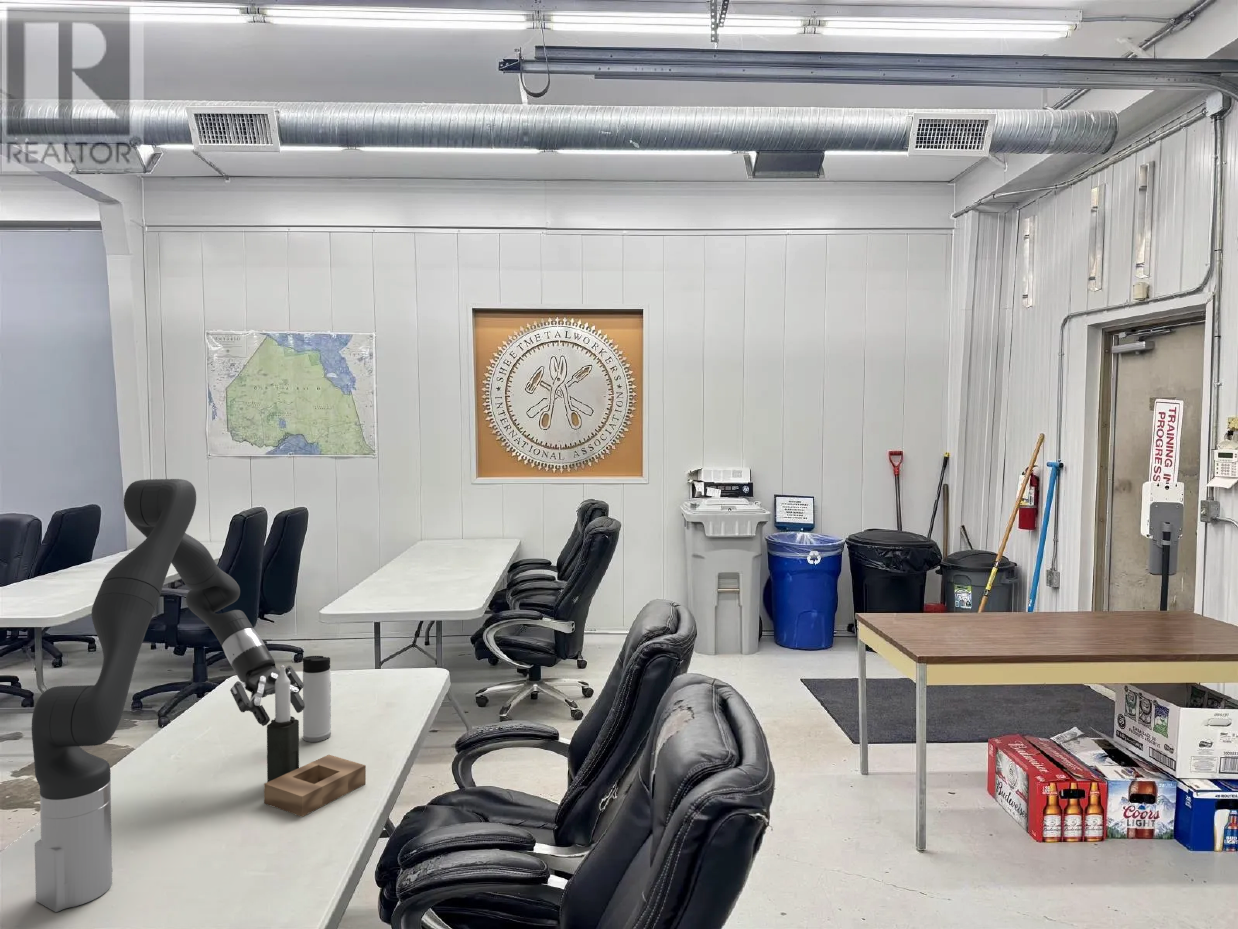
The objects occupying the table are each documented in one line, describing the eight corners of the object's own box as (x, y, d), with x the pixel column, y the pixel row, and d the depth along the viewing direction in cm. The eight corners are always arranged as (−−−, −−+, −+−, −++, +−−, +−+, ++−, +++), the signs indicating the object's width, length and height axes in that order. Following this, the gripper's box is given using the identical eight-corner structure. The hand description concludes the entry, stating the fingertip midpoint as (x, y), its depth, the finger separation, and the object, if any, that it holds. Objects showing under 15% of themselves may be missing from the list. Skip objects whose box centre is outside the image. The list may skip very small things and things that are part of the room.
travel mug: (296, 739, 185) (295, 657, 184) (318, 730, 191) (318, 650, 190) (314, 745, 182) (313, 661, 181) (336, 735, 188) (336, 654, 187)
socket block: (302, 817, 148) (302, 796, 148) (264, 803, 153) (264, 783, 153) (365, 784, 162) (365, 765, 162) (328, 772, 167) (328, 754, 167)
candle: (286, 789, 160) (285, 670, 159) (264, 786, 161) (263, 668, 160) (301, 778, 165) (300, 662, 164) (280, 776, 166) (279, 661, 165)
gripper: (225, 652, 159) (263, 717, 154) (284, 636, 171) (320, 696, 167) (209, 674, 162) (246, 738, 157) (268, 657, 174) (304, 716, 169)
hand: (284, 716), depth 162 cm, fingers open, 8 cm apart
